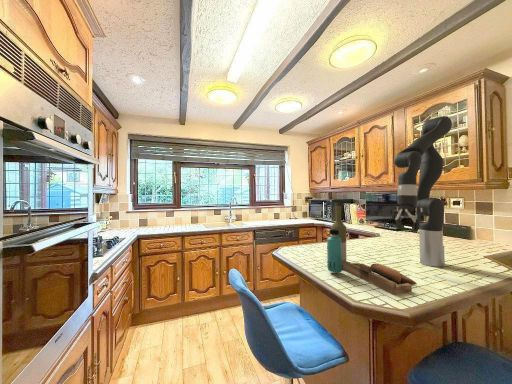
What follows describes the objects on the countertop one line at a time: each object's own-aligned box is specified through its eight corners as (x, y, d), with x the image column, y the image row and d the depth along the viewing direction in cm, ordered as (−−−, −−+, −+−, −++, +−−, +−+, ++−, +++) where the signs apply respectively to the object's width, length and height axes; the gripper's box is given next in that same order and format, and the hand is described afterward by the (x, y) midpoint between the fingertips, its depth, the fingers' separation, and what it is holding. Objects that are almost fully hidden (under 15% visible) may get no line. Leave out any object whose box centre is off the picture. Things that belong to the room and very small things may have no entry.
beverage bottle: (342, 271, 100) (341, 228, 100) (343, 277, 94) (342, 230, 94) (327, 270, 102) (326, 227, 102) (327, 275, 96) (326, 230, 96)
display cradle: (357, 267, 105) (357, 255, 106) (412, 292, 78) (411, 275, 78) (342, 269, 103) (342, 256, 103) (393, 294, 76) (392, 277, 76)
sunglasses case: (420, 284, 85) (411, 270, 85) (406, 294, 84) (398, 280, 84) (385, 268, 103) (378, 257, 102) (374, 277, 102) (367, 265, 101)
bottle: (349, 266, 107) (348, 205, 107) (341, 269, 103) (340, 206, 103) (337, 263, 112) (336, 205, 113) (328, 266, 108) (327, 206, 109)
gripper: (428, 194, 95) (428, 231, 95) (400, 195, 109) (399, 227, 108) (415, 194, 93) (415, 232, 93) (387, 194, 107) (387, 227, 107)
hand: (406, 229), depth 101 cm, fingers open, 8 cm apart
